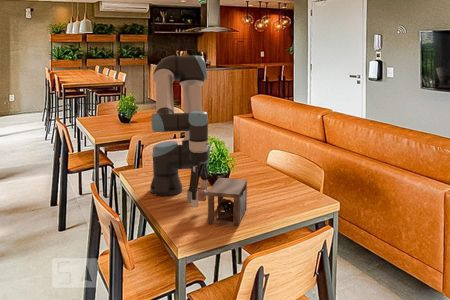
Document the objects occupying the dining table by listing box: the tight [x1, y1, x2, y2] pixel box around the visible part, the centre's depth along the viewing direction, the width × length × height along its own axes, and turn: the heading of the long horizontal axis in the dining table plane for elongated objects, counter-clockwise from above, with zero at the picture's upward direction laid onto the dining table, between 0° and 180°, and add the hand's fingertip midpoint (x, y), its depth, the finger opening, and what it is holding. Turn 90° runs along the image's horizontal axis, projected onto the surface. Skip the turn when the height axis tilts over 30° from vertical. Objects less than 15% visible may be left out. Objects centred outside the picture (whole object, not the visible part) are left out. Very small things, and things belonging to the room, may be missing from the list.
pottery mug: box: [216, 197, 234, 220], centre depth 171 cm, size 12×10×8 cm
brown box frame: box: [186, 187, 246, 222], centre depth 170 cm, size 22×12×10 cm, turn 78°
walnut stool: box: [207, 177, 248, 228], centre depth 169 cm, size 12×18×13 cm, turn 168°
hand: (199, 200), depth 172 cm, fingers open, 13 cm apart
